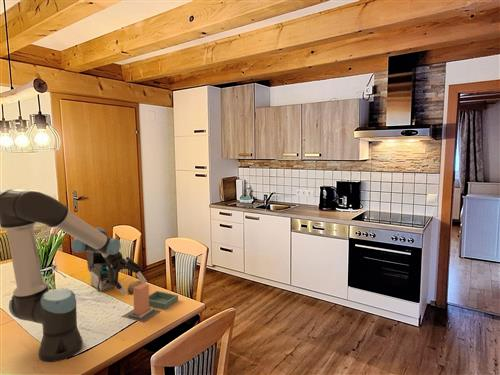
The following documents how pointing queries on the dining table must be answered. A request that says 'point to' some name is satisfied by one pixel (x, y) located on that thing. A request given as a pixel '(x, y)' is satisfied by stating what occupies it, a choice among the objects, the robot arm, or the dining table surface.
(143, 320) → the gray recessed plate
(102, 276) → the bill acceptor
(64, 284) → the dining table surface
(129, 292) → the bread roll
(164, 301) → the tray
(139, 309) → the salmon pink block
